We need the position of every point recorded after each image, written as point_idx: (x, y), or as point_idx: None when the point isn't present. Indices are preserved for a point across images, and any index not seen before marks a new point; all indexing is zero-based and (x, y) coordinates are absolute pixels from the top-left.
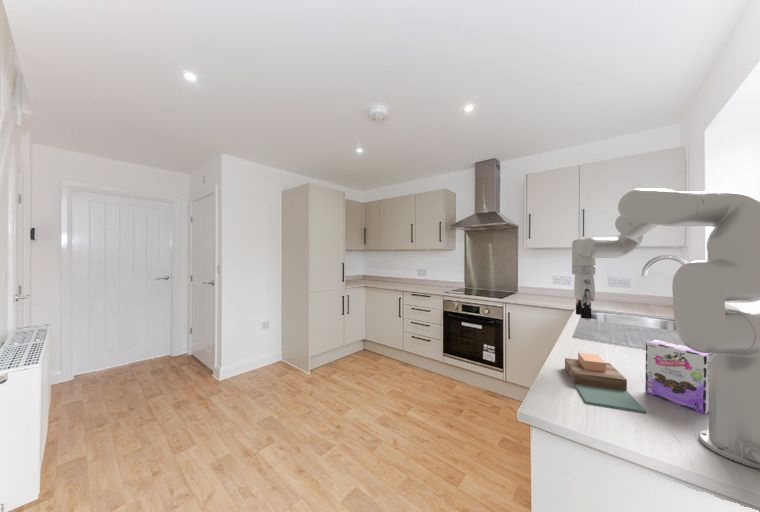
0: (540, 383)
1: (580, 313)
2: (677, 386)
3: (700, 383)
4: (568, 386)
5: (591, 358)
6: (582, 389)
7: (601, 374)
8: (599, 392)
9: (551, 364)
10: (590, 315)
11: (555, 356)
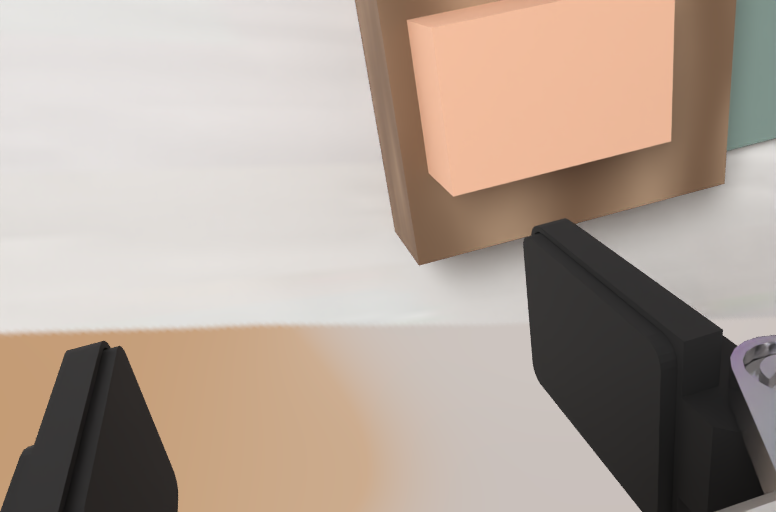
0: (710, 315)
1: (153, 440)
2: None
3: None
4: (703, 190)
5: (590, 88)
6: (757, 122)
7: (695, 14)
8: (772, 33)
9: (353, 317)
10: (594, 254)
11: (109, 323)
